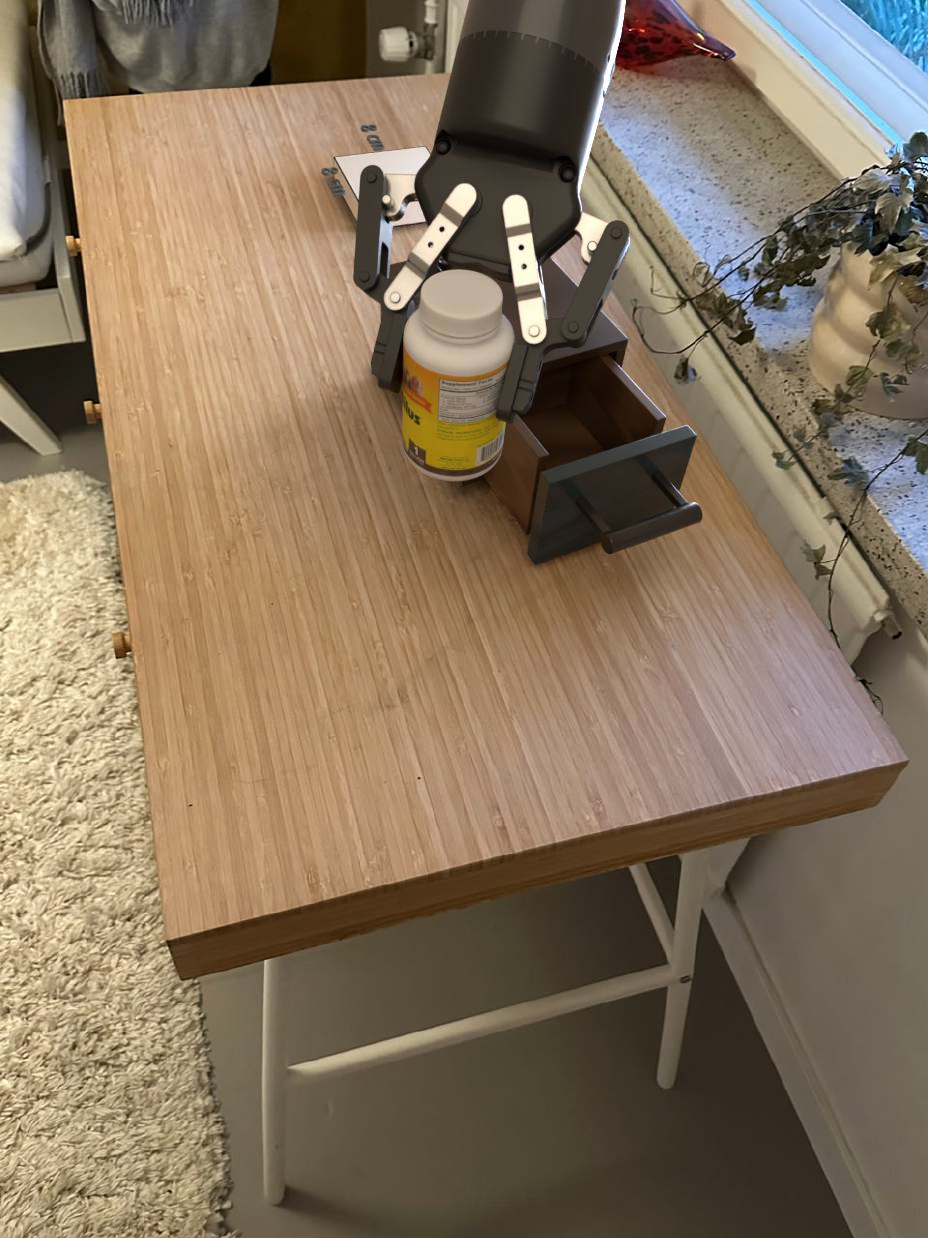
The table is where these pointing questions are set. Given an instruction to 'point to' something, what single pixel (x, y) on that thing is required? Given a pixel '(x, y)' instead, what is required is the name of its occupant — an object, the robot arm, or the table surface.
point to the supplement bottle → (455, 376)
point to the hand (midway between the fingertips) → (446, 404)
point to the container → (389, 162)
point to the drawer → (592, 464)
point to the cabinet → (557, 303)
